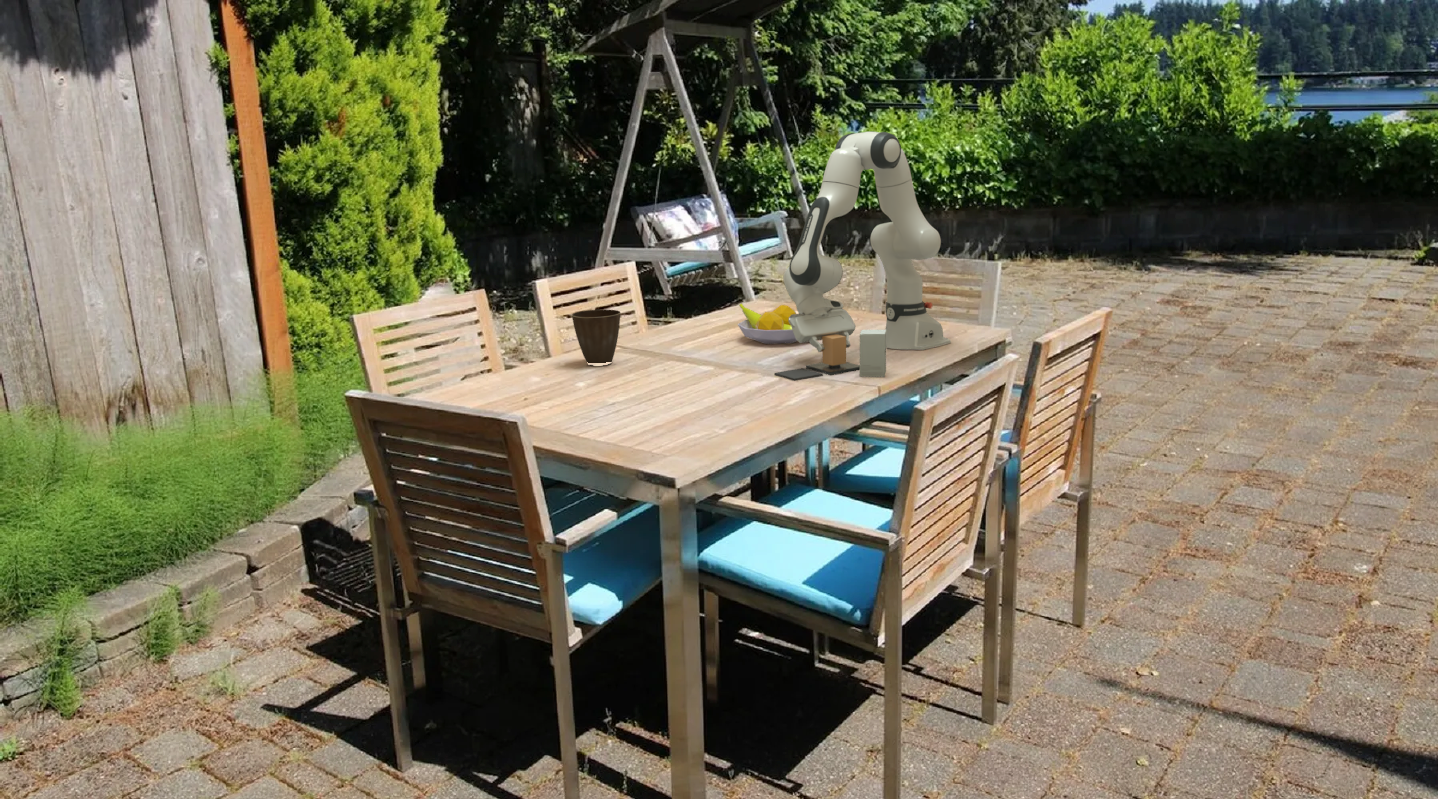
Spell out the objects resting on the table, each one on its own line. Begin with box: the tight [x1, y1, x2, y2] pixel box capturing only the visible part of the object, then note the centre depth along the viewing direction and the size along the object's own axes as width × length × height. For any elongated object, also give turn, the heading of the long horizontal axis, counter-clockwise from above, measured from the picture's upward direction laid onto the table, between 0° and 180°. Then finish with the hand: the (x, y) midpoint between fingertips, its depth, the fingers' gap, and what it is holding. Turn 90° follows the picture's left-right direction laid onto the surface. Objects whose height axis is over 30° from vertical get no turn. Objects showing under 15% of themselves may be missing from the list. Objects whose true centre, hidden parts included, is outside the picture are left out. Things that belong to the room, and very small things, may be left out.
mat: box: [774, 367, 824, 382], centre depth 349 cm, size 10×10×1 cm
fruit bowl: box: [737, 303, 798, 345], centre depth 402 cm, size 28×27×11 cm
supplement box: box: [859, 329, 887, 378], centre depth 346 cm, size 7×7×13 cm
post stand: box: [805, 361, 860, 376], centre depth 355 cm, size 12×12×9 cm
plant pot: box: [571, 309, 621, 363], centre depth 372 cm, size 15×15×16 cm
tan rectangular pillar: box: [821, 334, 847, 366], centre depth 354 cm, size 5×5×8 cm
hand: (834, 348), depth 354 cm, fingers open, 8 cm apart
